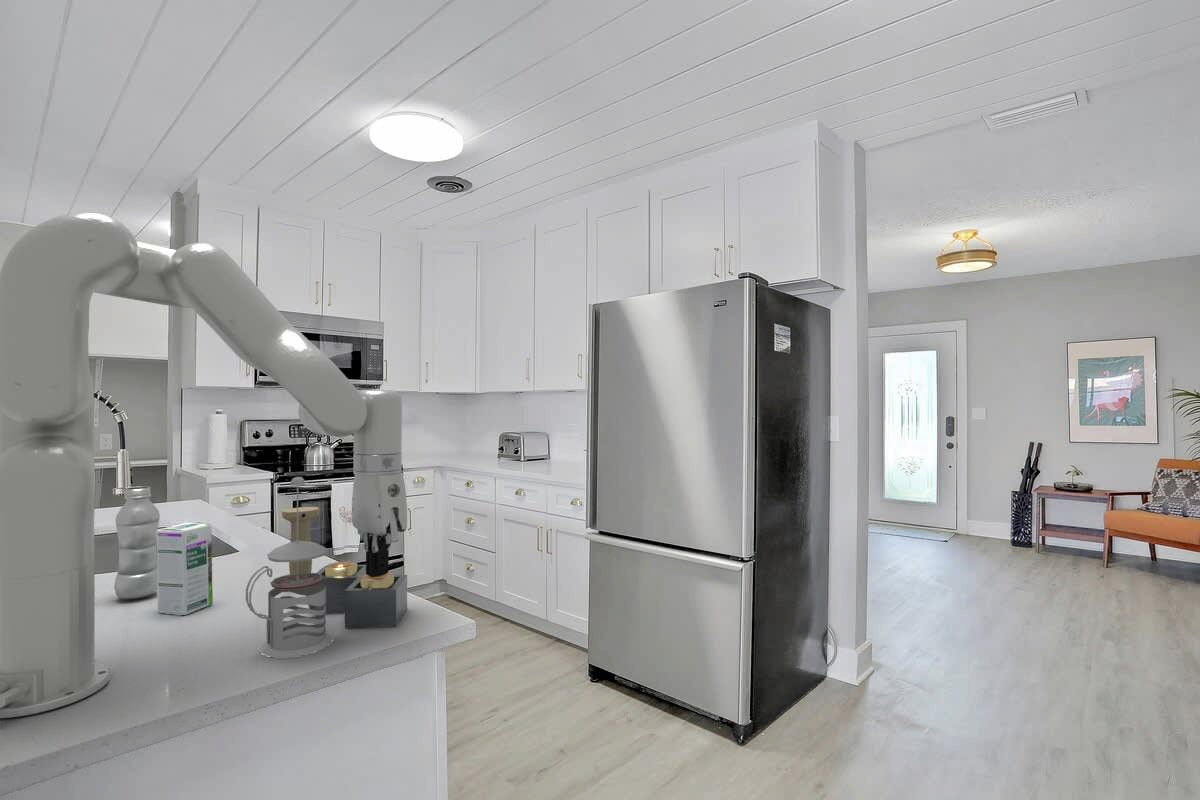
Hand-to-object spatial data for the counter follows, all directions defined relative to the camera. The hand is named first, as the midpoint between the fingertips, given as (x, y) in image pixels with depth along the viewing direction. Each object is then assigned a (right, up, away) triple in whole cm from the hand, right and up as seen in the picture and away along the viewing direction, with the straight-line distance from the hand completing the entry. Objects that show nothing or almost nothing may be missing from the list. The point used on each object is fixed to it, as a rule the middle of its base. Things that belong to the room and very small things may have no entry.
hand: (377, 574), depth 102 cm
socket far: (-9, -7, +6) cm, 13 cm away
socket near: (0, -7, 0) cm, 7 cm away
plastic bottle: (-47, -7, +10) cm, 49 cm away
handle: (-21, -7, +16) cm, 27 cm away
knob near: (0, -6, 0) cm, 6 cm away
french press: (-9, -8, -11) cm, 16 cm away
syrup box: (-35, -7, +4) cm, 36 cm away
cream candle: (-9, -6, +6) cm, 12 cm away
